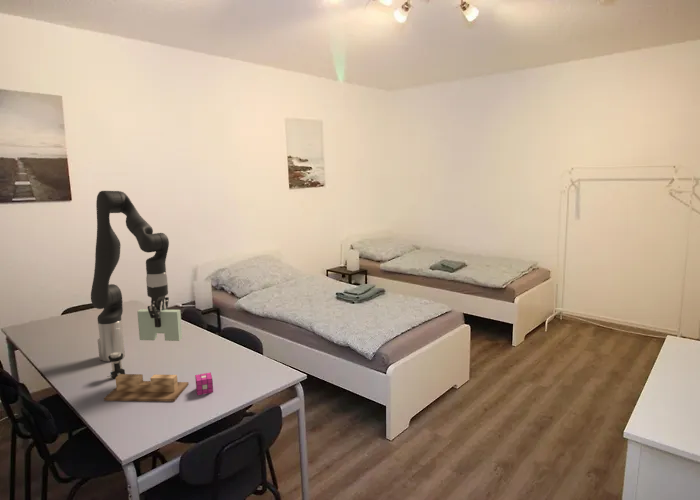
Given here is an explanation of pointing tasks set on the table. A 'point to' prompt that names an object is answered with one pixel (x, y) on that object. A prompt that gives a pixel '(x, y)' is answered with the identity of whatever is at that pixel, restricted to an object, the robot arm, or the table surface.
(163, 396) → the oak slotted rail
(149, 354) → the table surface
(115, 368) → the push button
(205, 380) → the puzzle toy
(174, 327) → the sage slotted plate
